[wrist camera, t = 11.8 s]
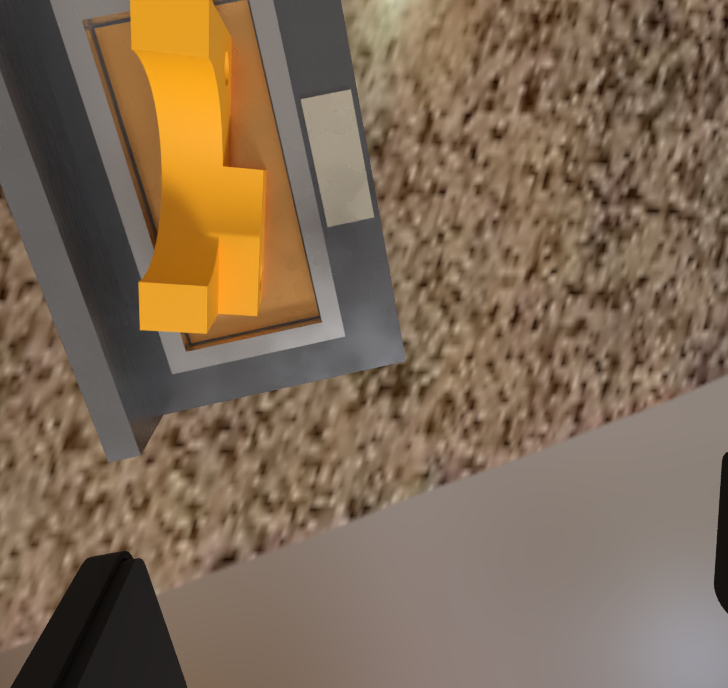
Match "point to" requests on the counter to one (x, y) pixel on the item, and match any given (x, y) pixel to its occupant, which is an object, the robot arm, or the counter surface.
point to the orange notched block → (197, 174)
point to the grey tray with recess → (143, 205)
